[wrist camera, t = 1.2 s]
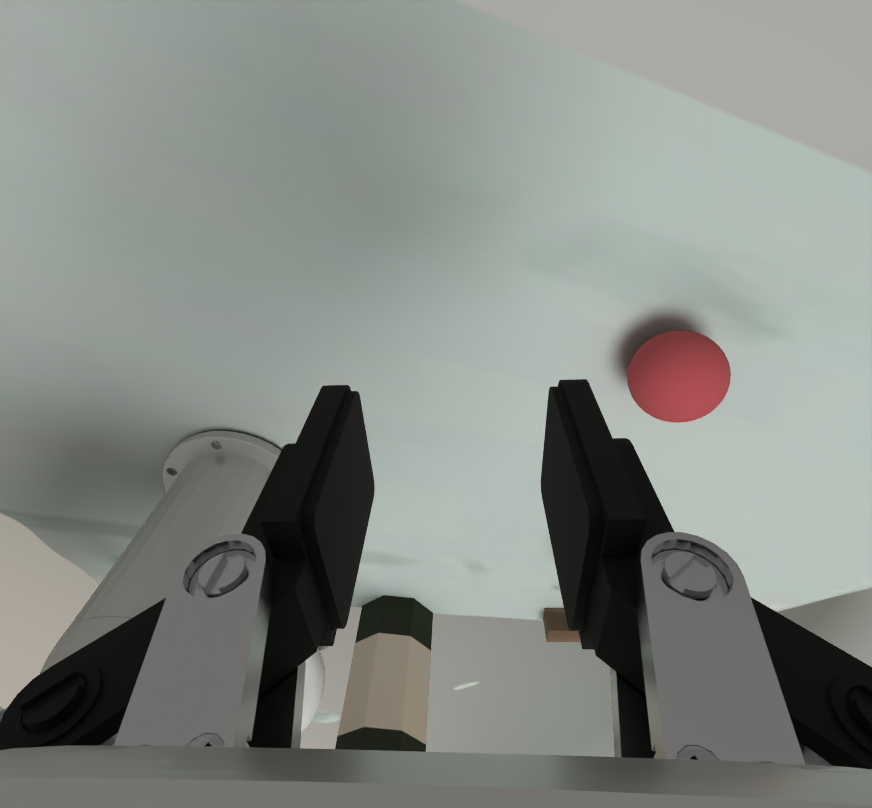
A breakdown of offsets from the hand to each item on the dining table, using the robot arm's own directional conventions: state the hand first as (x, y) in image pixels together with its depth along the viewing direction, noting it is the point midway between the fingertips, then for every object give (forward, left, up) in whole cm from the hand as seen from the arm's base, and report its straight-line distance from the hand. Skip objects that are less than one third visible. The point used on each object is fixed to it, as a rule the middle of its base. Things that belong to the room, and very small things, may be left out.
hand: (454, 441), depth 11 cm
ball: (-10, -14, -19) cm, 26 cm away
